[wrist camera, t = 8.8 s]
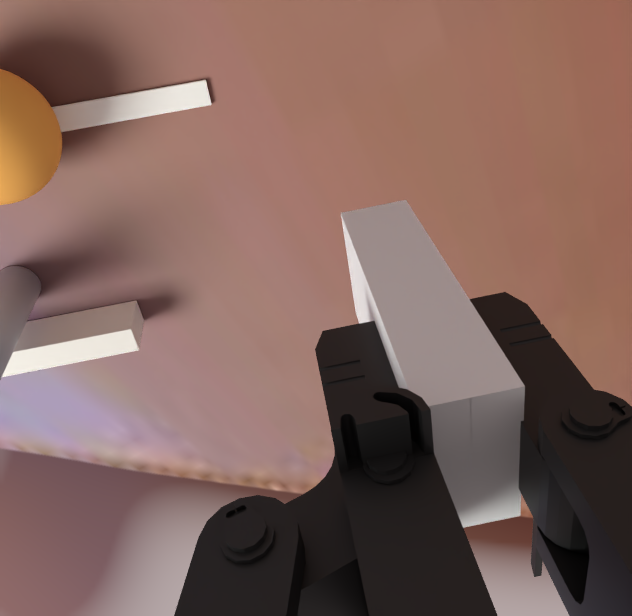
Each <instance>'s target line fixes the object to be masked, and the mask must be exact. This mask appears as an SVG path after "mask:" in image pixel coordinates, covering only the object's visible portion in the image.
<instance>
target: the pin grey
mask: <svg viewBox="0 0 632 616" xmlns="http://www.w3.org/2000/svg"><path fill="white" fill-rule="evenodd" d="M40 292H41V282H40V280H39V278H38V277H37V275H36V274H35V273H33V272H32V271H31V270H29V269H27V268H24V267H21V266H9V267H6V268H4V269H2V270H1V271H0V380H1V377H2V375H3V373H4V371H5V369H6V366H7V364H8V362H9V360H10V358H11V355H12V353H13V351H14V349H15V347H16V344H17V342H18V340H19V338H20V336H21V333H22V331H23V329H24V327H25V325H26V322H27V320H28V318H29V316H30V314H31V311H32V309H33V307H34V305H35V303H36V300H37V298H38V296H39V294H40Z"/></svg>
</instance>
